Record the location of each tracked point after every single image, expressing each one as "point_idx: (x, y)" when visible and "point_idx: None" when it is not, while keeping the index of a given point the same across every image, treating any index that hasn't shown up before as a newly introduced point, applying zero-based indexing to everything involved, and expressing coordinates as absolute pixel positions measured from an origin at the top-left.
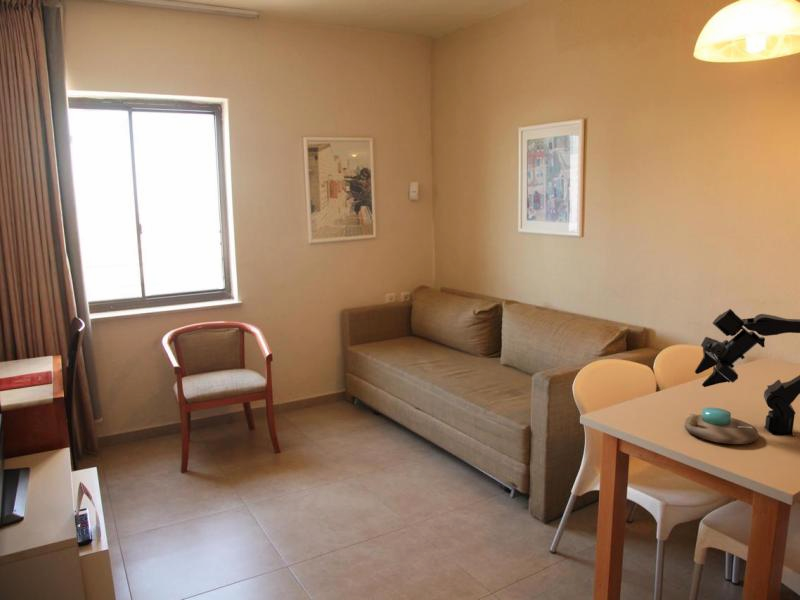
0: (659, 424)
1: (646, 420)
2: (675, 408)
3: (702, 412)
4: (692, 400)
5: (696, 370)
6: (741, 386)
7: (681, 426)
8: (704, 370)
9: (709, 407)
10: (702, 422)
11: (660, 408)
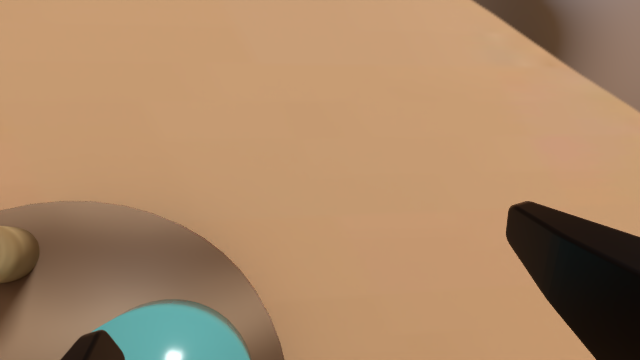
0: (119, 80)
1: (157, 19)
2: (417, 154)
3: (136, 310)
4: None
5: (533, 221)
6: None
7: (137, 191)
8: (584, 343)
9: (242, 355)
10: (88, 310)
11: (380, 86)
